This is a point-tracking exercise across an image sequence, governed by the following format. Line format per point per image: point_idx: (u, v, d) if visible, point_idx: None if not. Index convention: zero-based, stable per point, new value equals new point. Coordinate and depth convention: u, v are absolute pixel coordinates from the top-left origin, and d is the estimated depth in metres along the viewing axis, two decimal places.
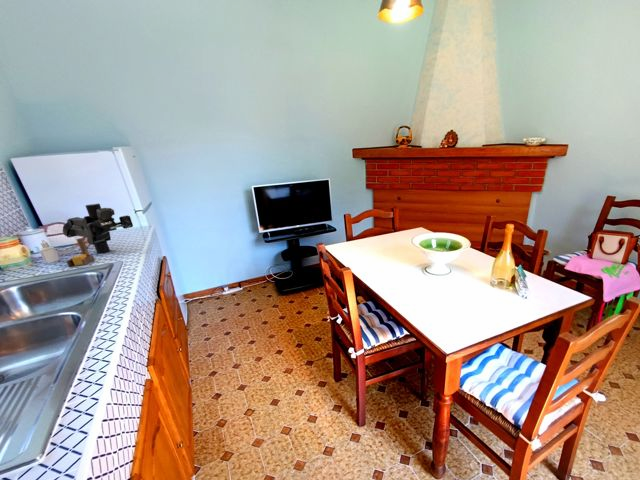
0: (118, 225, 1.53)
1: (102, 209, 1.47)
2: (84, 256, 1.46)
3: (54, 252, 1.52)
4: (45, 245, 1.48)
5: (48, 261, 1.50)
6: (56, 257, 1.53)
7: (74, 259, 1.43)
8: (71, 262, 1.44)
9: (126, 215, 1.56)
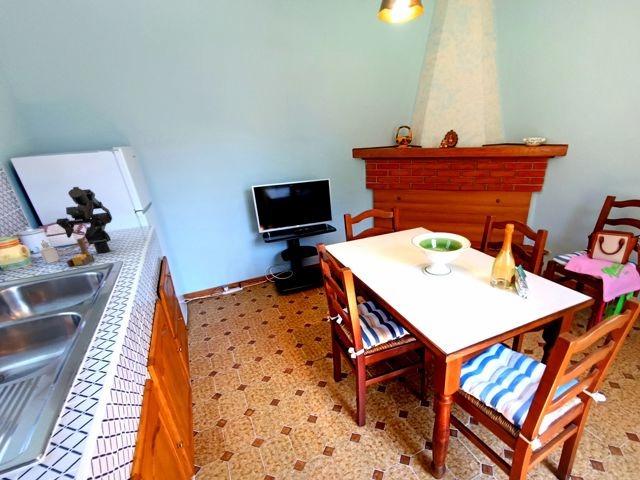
0: None
1: (69, 209, 1.42)
2: (84, 256, 1.46)
3: (54, 252, 1.52)
4: (45, 245, 1.48)
5: (48, 261, 1.50)
6: (56, 257, 1.53)
7: (74, 259, 1.43)
8: (71, 262, 1.44)
9: (98, 215, 1.47)
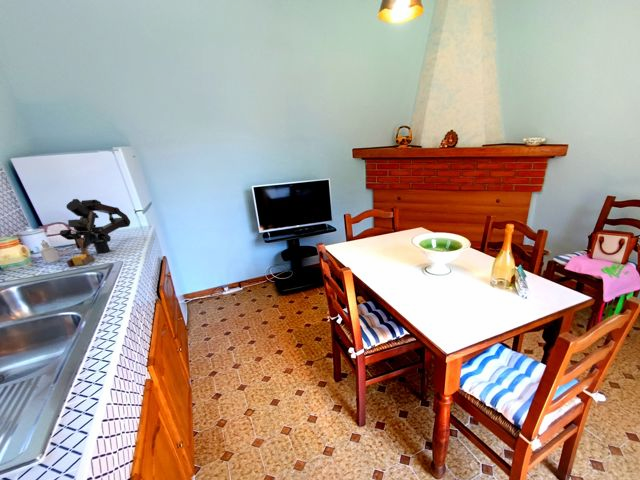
0: None
1: (71, 222, 1.43)
2: (84, 256, 1.46)
3: (54, 252, 1.52)
4: (45, 245, 1.48)
5: (48, 261, 1.50)
6: (56, 257, 1.53)
7: (74, 259, 1.43)
8: (71, 262, 1.44)
9: (99, 227, 1.49)
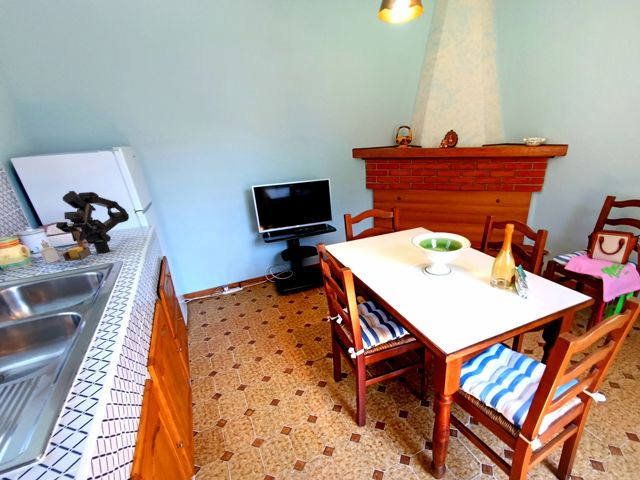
0: None
1: (67, 214, 1.42)
2: (80, 249, 1.44)
3: (54, 252, 1.52)
4: (45, 245, 1.48)
5: (48, 261, 1.50)
6: (56, 257, 1.53)
7: (70, 252, 1.42)
8: (67, 255, 1.42)
9: (95, 220, 1.47)
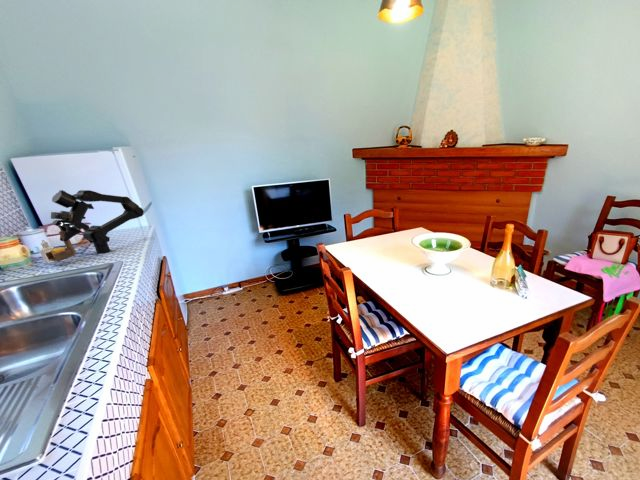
0: None
1: (52, 214, 1.41)
2: (61, 250, 1.44)
3: None
4: (45, 245, 1.48)
5: (48, 261, 1.50)
6: None
7: (52, 252, 1.43)
8: (51, 254, 1.44)
9: (75, 222, 1.43)
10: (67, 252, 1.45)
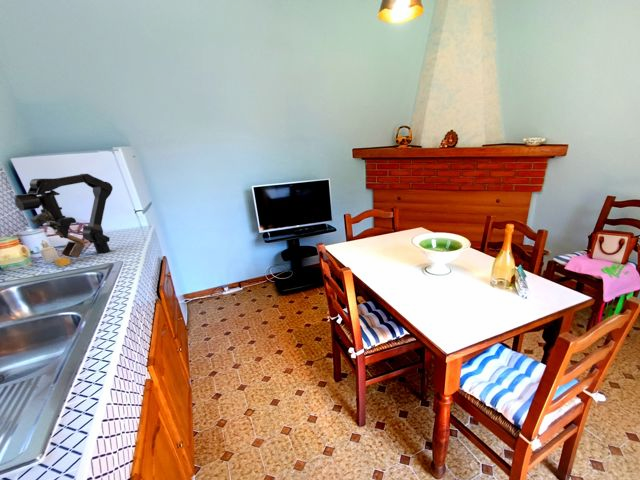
0: None
1: (33, 222, 1.35)
2: None
3: (54, 252, 1.52)
4: (45, 245, 1.48)
5: (48, 261, 1.50)
6: (56, 257, 1.53)
7: None
8: (66, 251, 1.50)
9: (59, 222, 1.37)
10: (77, 246, 1.49)
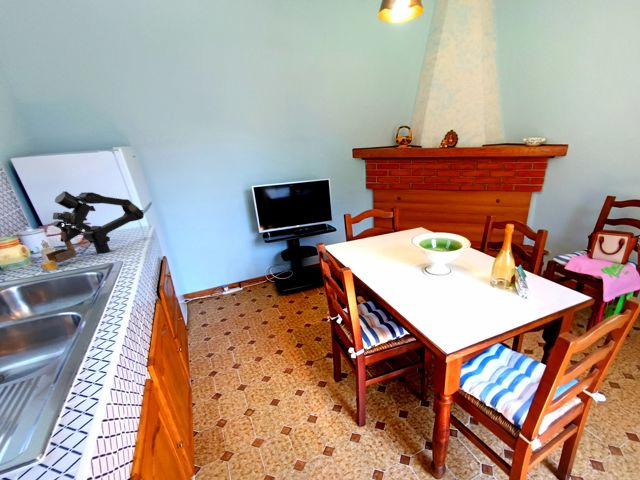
0: None
1: (54, 215, 1.42)
2: None
3: None
4: (45, 245, 1.48)
5: None
6: None
7: None
8: (52, 255, 1.44)
9: (77, 223, 1.43)
10: (68, 253, 1.45)
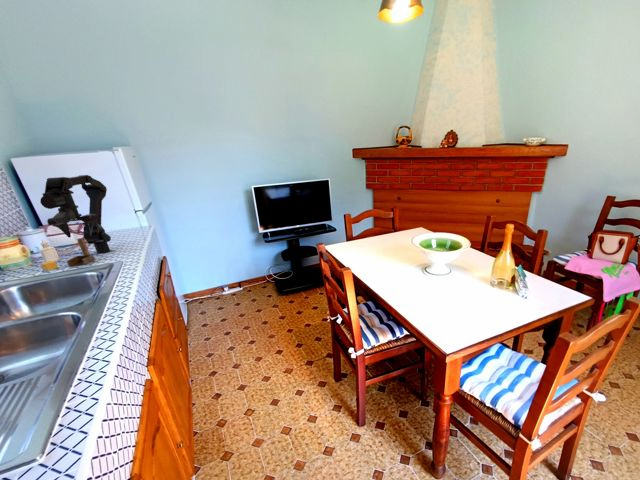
0: None
1: (58, 220, 1.36)
2: None
3: (54, 252, 1.52)
4: (45, 245, 1.48)
5: None
6: (56, 257, 1.53)
7: None
8: (71, 262, 1.44)
9: (88, 218, 1.42)
10: (90, 258, 1.48)
